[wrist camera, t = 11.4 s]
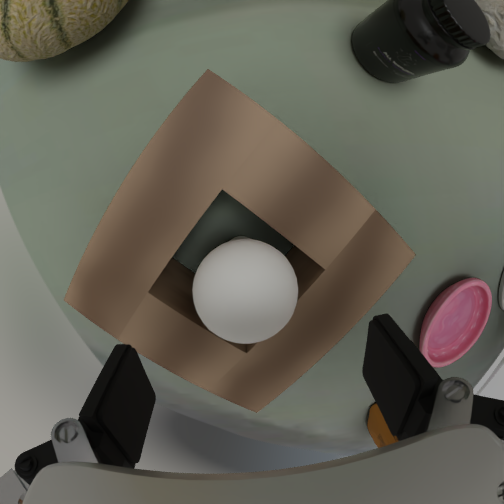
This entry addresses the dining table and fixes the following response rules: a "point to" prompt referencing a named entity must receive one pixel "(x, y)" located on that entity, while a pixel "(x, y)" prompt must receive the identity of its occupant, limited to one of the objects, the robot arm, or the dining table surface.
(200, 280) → the lightbulb
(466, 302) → the saucer
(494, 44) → the grey rounded lump
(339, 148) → the dining table surface
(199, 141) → the socket block
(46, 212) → the dining table surface
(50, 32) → the cantaloupe
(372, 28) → the supplement bottle
